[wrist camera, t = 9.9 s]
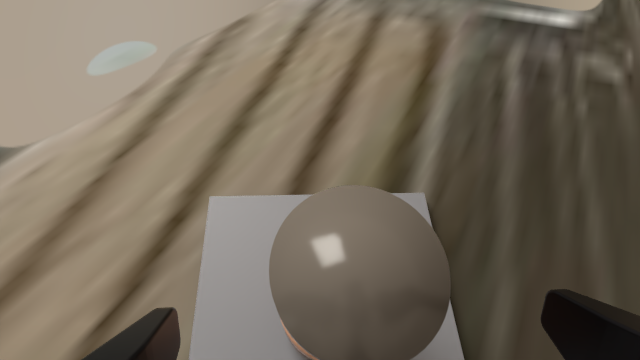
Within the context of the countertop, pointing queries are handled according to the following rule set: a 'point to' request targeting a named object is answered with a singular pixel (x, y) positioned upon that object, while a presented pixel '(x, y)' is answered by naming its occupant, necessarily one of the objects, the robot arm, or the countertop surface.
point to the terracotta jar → (358, 276)
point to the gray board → (263, 284)
